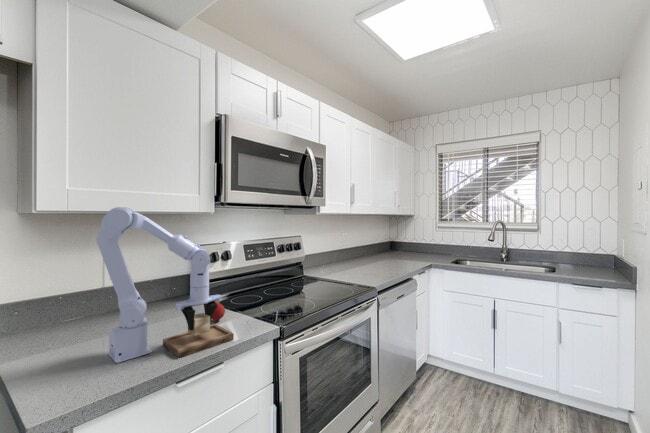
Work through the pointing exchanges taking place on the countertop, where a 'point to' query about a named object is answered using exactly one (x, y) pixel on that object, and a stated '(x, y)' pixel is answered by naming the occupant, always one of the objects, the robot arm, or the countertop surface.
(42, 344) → the countertop surface
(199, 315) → the cube
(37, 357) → the countertop surface
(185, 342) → the tray
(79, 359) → the countertop surface
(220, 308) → the onion
